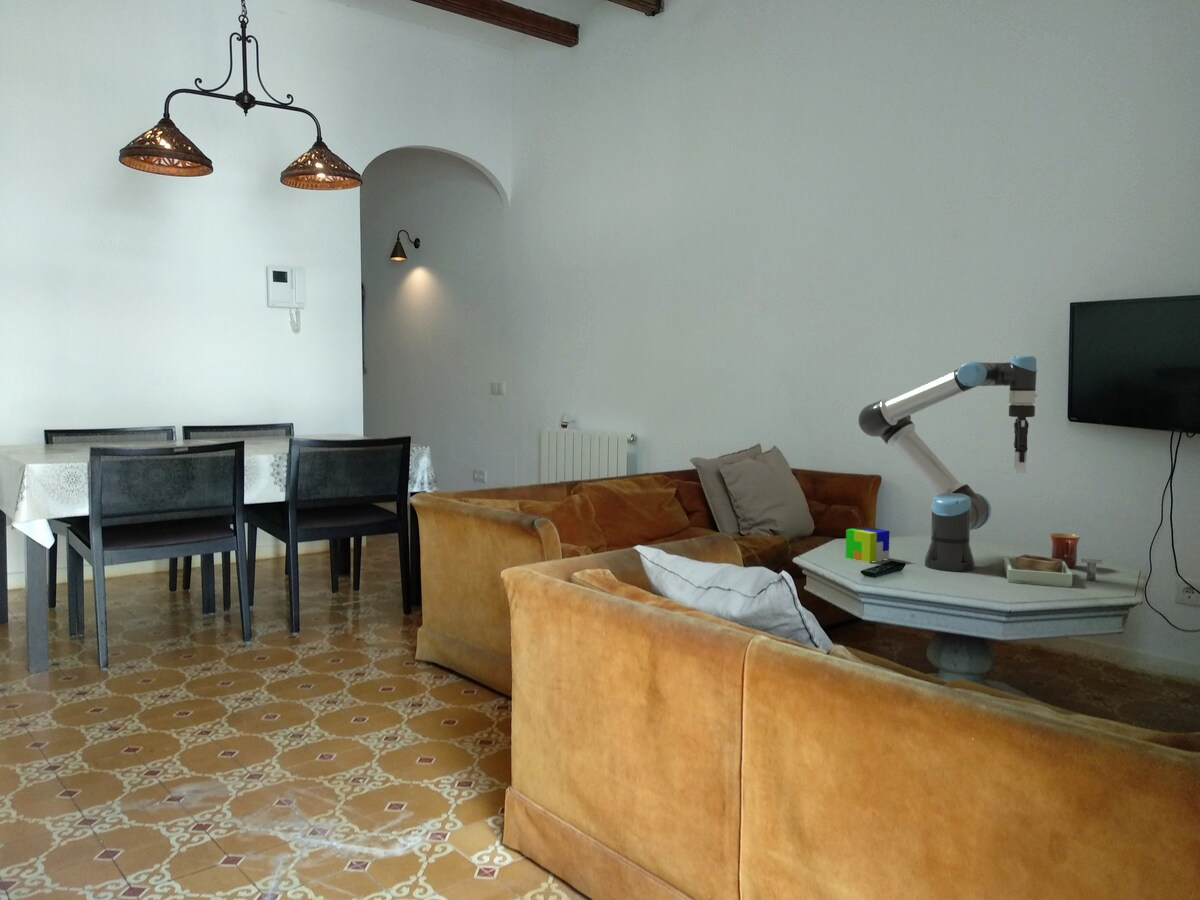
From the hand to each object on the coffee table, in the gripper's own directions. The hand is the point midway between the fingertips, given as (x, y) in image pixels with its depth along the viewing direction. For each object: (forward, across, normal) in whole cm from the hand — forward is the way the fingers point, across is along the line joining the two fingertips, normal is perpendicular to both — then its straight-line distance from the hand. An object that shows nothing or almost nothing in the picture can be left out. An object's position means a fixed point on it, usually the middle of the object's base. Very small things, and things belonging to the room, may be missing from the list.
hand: (1019, 470), depth 278 cm
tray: (+32, -13, -5) cm, 35 cm away
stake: (+32, -11, -20) cm, 39 cm away
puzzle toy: (+32, -3, +46) cm, 56 cm away
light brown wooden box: (+31, -12, -6) cm, 34 cm away
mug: (+32, +7, -15) cm, 36 cm away
